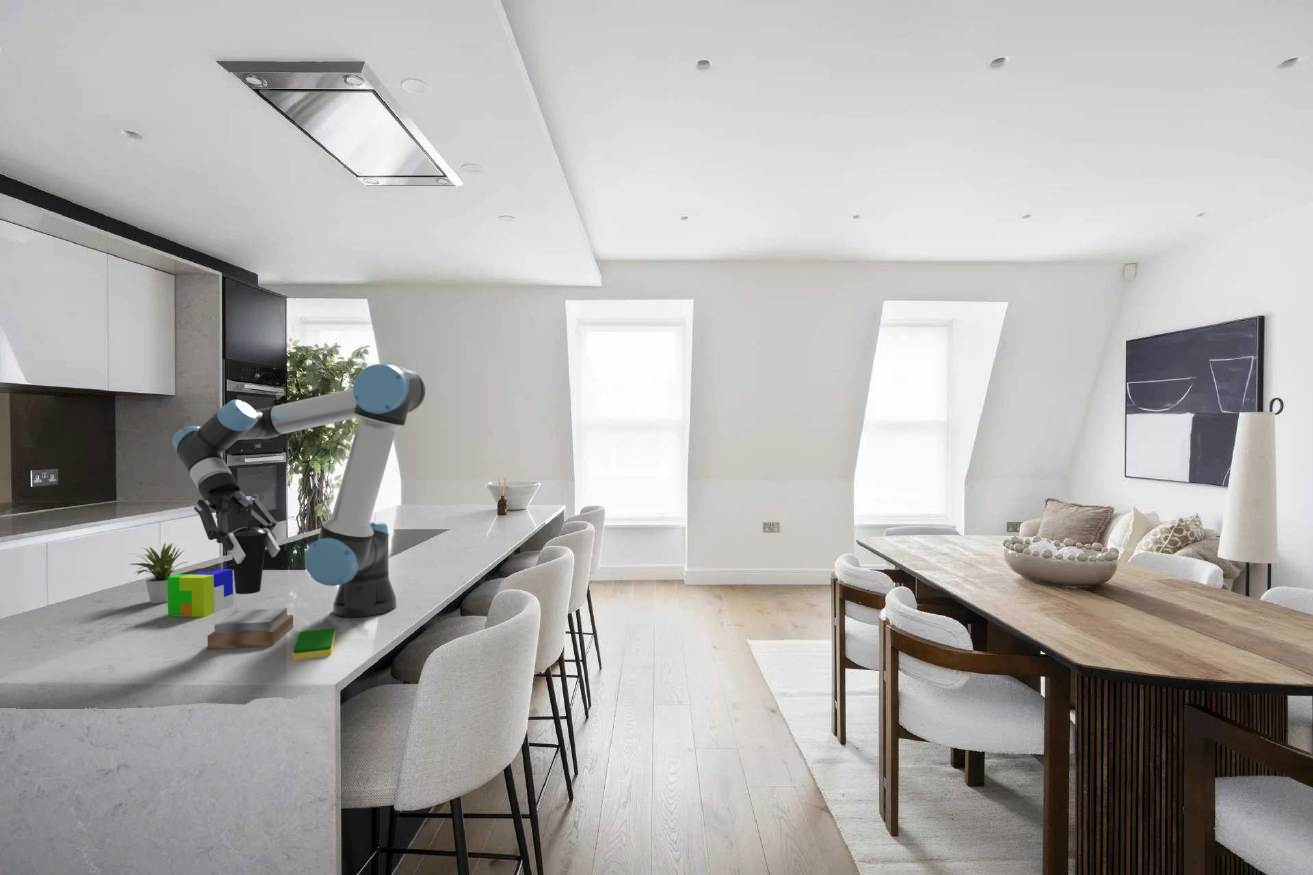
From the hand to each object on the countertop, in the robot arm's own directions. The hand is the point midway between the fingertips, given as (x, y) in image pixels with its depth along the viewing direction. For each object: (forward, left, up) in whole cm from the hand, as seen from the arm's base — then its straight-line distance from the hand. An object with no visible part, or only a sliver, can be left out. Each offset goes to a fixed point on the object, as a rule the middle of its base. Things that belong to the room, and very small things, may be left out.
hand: (259, 556), depth 149 cm
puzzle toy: (+24, -29, -19) cm, 43 cm away
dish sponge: (-14, +8, -20) cm, 25 cm away
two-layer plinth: (+2, -2, -19) cm, 19 cm away
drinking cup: (+3, -2, -9) cm, 9 cm away
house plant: (+40, -43, -19) cm, 62 cm away
